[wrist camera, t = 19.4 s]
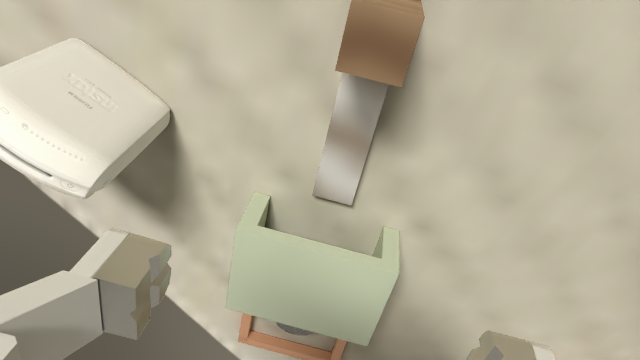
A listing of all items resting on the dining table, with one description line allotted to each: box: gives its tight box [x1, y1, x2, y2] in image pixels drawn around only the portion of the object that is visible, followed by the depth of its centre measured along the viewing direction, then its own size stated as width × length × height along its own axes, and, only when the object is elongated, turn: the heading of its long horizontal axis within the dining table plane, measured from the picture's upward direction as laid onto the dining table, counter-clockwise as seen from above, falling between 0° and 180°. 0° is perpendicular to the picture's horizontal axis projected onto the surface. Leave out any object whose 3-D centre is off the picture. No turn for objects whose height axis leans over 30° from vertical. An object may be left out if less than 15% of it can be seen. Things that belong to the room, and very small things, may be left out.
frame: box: [238, 313, 347, 360], centre depth 49 cm, size 12×10×1 cm
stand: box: [225, 192, 399, 347], centre depth 41 cm, size 14×10×6 cm
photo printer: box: [0, 38, 170, 199], centre depth 32 cm, size 10×4×12 cm, turn 50°
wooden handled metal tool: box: [313, 0, 425, 205], centre depth 31 cm, size 18×4×8 cm, turn 168°
